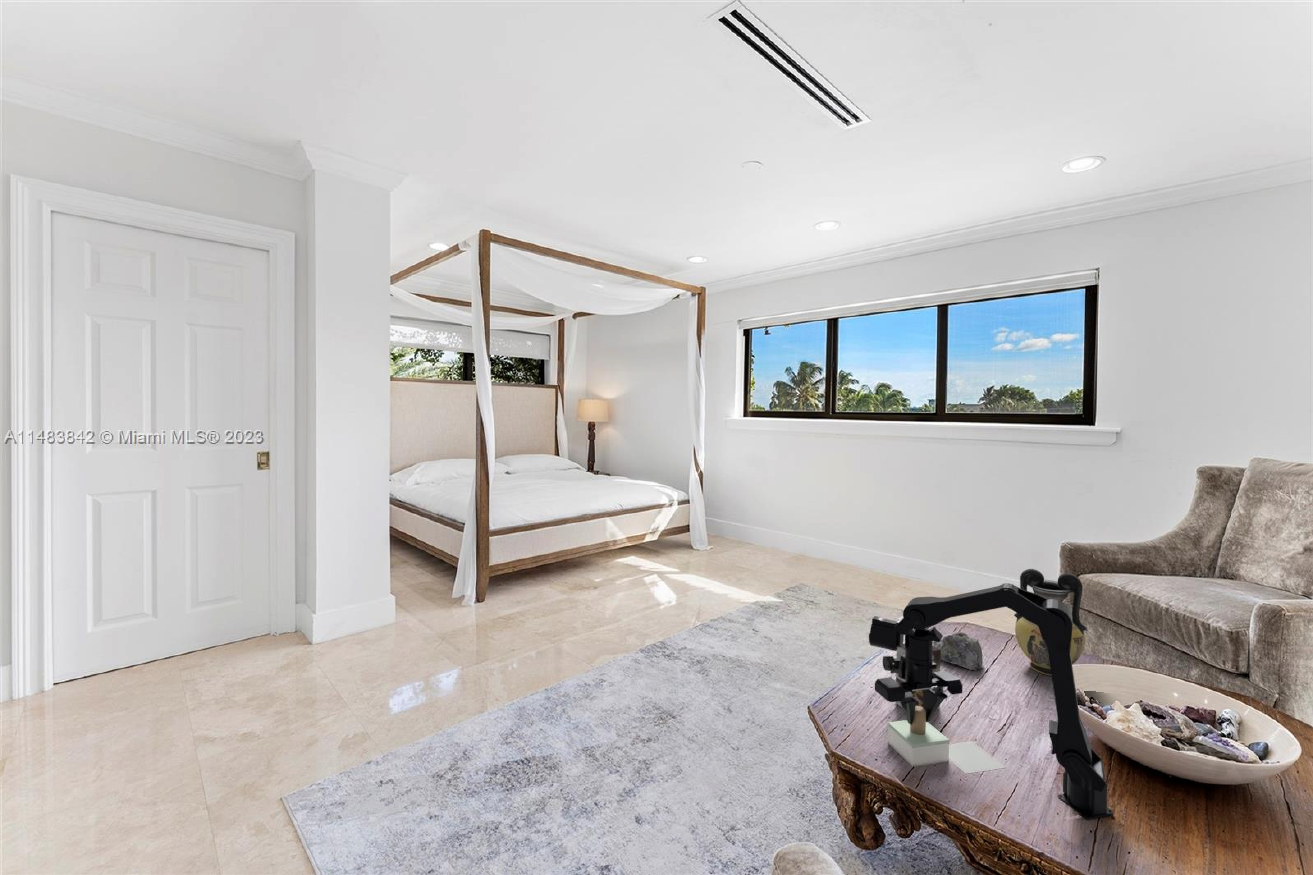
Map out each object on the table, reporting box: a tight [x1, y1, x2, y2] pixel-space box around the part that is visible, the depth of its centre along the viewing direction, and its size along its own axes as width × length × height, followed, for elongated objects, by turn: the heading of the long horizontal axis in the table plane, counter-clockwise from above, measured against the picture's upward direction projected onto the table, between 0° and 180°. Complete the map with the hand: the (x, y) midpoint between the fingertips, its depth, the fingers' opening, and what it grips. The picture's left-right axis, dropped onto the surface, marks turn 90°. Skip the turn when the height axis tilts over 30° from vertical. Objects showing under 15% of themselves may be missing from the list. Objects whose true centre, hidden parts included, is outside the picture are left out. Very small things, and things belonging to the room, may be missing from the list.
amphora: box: [1014, 568, 1088, 677], centre depth 167 cm, size 18×17×30 cm
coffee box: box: [895, 643, 941, 710], centre depth 148 cm, size 9×6×16 cm
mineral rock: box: [933, 631, 984, 672], centre depth 173 cm, size 13×11×10 cm
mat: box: [949, 740, 1006, 775], centre depth 126 cm, size 10×10×1 cm
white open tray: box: [887, 726, 950, 768], centre depth 128 cm, size 9×9×4 cm
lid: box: [887, 706, 950, 748], centre depth 128 cm, size 9×9×6 cm
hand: (918, 722), depth 128 cm, fingers open, 4 cm apart
